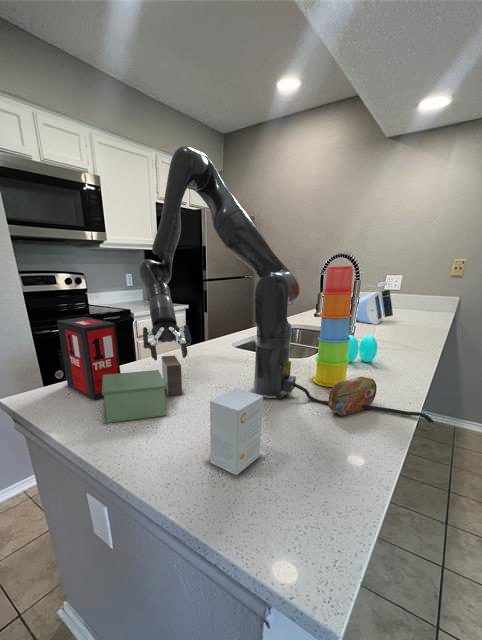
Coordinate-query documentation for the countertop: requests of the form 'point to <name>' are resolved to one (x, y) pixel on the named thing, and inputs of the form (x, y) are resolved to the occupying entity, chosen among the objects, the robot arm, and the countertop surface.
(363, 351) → the cyan double-lobed piece
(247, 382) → the countertop surface
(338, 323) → the stacking cups
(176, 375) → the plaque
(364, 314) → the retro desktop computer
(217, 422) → the small box
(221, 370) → the countertop surface
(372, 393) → the tin
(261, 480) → the countertop surface
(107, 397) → the toy box
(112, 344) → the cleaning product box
